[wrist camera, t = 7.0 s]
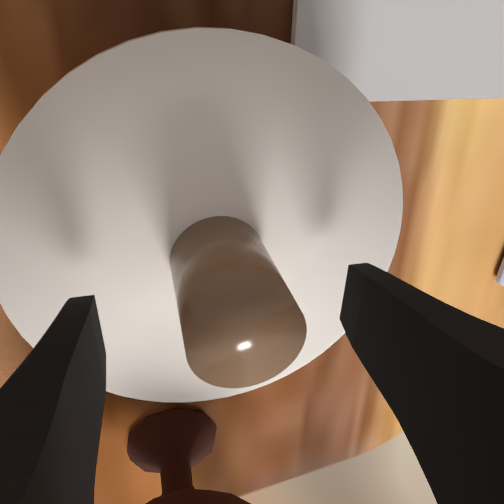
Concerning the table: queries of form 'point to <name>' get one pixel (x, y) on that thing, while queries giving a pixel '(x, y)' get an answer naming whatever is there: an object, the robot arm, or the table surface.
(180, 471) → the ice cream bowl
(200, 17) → the table surface
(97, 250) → the lid
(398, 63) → the mat
